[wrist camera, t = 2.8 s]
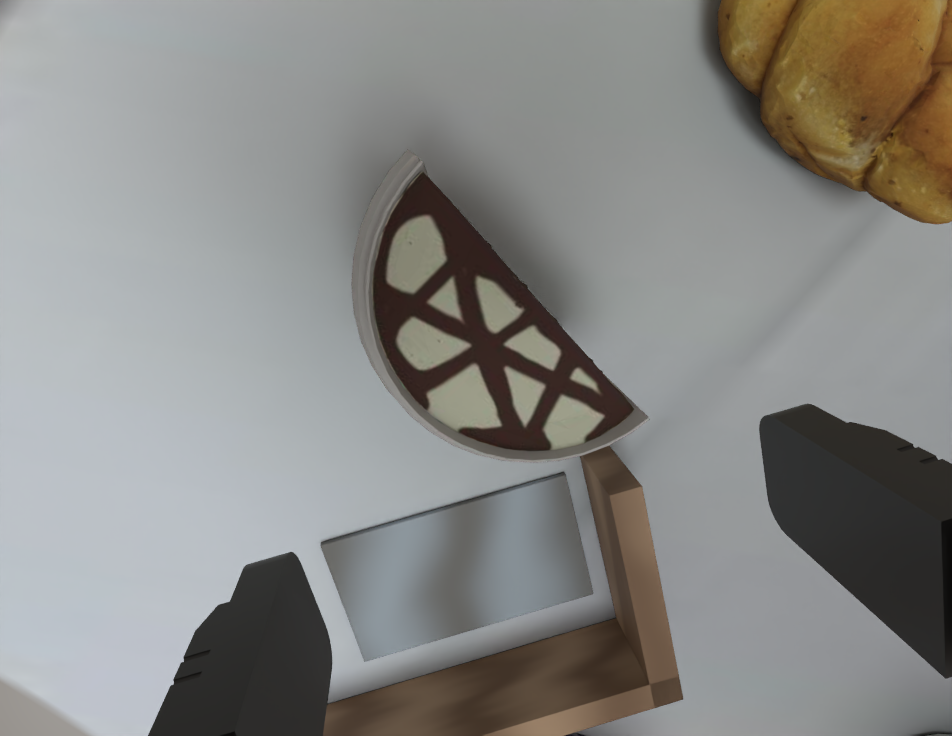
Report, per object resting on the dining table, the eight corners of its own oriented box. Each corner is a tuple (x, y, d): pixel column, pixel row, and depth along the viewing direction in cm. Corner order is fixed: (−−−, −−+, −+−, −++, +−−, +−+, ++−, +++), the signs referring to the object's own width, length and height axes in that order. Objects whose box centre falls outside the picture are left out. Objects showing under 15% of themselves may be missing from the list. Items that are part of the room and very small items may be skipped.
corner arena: (606, 442, 33) (641, 486, 28) (645, 631, 36) (683, 699, 32) (228, 550, 32) (198, 615, 27) (307, 733, 36) (292, 818, 31)
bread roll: (656, 68, 28) (753, 24, 20) (800, -137, 26) (963, -268, 19) (849, 236, 31) (995, 252, 24) (987, 62, 30) (1192, 19, 22)
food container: (306, 255, 28) (258, 291, 19) (405, 159, 28) (408, 145, 18) (487, 436, 32) (525, 544, 22) (579, 354, 31) (659, 429, 22)
